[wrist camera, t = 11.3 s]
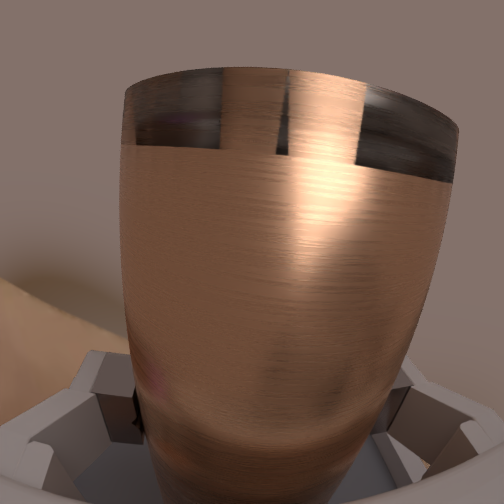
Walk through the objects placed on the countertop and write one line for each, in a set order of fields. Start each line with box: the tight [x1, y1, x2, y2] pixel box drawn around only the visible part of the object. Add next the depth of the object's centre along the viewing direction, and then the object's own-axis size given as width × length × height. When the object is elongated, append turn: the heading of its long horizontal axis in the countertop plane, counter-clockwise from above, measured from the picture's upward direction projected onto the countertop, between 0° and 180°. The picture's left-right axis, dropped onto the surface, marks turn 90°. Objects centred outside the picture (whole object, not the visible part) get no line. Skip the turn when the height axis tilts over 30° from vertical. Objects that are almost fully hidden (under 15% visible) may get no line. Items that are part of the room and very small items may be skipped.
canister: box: [119, 67, 459, 504], centre depth 7 cm, size 6×6×14 cm
